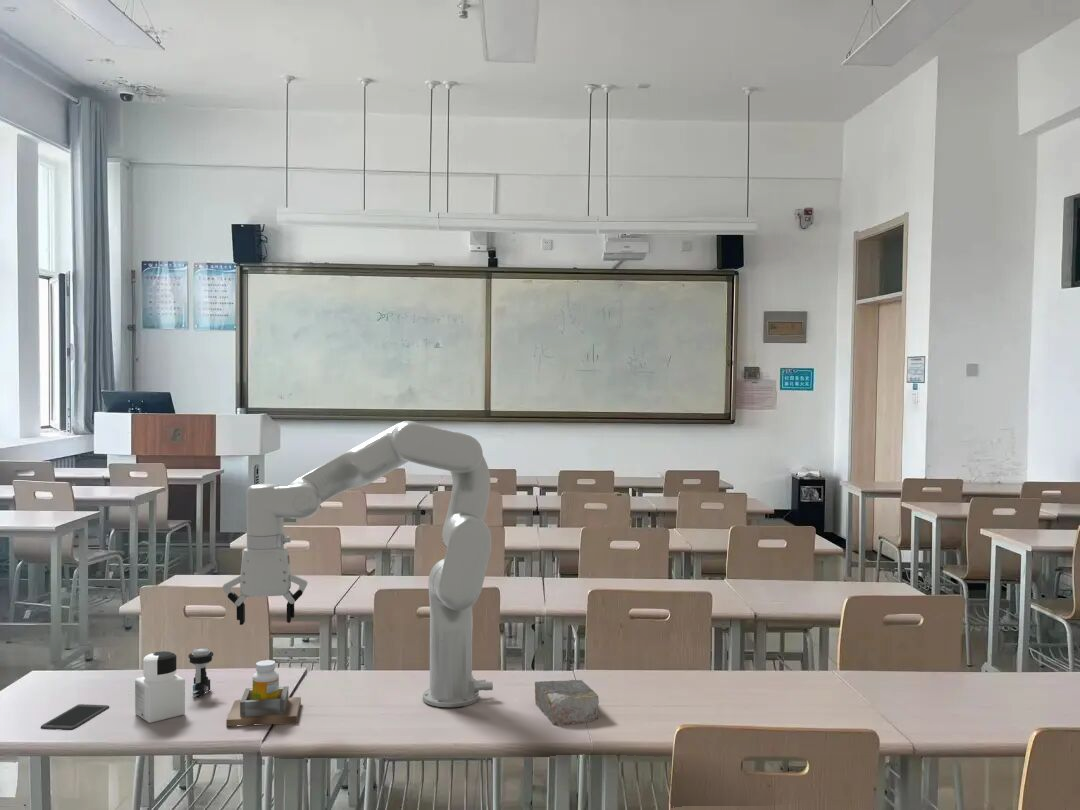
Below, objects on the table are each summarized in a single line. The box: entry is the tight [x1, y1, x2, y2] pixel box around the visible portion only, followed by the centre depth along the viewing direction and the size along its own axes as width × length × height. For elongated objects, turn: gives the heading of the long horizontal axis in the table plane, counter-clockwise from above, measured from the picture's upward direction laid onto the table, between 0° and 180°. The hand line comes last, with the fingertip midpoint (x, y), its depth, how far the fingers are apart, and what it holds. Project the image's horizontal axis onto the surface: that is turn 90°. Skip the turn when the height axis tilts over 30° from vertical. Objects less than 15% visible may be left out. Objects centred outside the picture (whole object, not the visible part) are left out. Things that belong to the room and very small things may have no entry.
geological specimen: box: [534, 679, 600, 726], centre depth 202 cm, size 11×6×15 cm
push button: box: [187, 647, 214, 698], centre depth 211 cm, size 7×5×10 cm
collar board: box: [225, 686, 302, 726], centre depth 198 cm, size 14×12×4 cm
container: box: [134, 650, 186, 724], centre depth 198 cm, size 8×8×13 cm
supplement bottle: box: [252, 659, 280, 700], centre depth 198 cm, size 5×5×10 cm
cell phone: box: [40, 703, 110, 731], centre depth 196 cm, size 7×14×1 cm, turn 174°
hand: (265, 622), depth 198 cm, fingers open, 9 cm apart
